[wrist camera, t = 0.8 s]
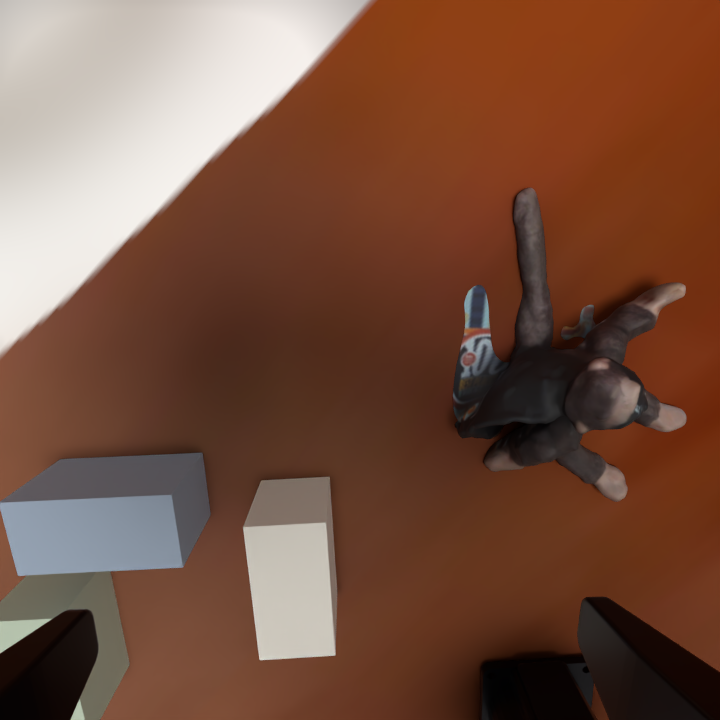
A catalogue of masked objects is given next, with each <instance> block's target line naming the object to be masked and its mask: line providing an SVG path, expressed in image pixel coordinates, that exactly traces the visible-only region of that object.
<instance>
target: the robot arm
mask: <svg viewBox="0 0 720 720" xmlns="http://www.w3.org/2000/svg"><path fill="white" fill-rule="evenodd" d="M577 637H578V643H579V647H580V649H581V652H582V654H583V656H580V657H565V658H549V659H534V660H519V661H504V662H489V663H486V664H484V665H483V666H482V667H481V681H480V718H479V720H597V718H596V717H595V715H594V713H593V711H592V709H591V705H592V696H593V686H594V683H595V686H596V688H597V691H598V693H599V696H600V698H601V701H602V703H603V705H604V708H605V710H606V713H607V715H608V717H609V720H720V672H719V671H717V670H716V669H714V668H713V667H711V666H710V665H708V664H707V663H705V662H704V661H702V660H701V659H699V658H698V657H696V656H695V655H693V654H692V653H690V652H689V651H687V650H686V649H684V648H683V647H681V646H680V645H678V644H677V643H675V642H674V641H672V640H671V639H669V638H668V637H666V636H665V635H663V634H662V633H660V632H659V631H657V630H656V629H654V628H653V627H651V626H650V625H648V624H647V623H645V622H644V621H642V620H641V619H639V618H638V617H636V616H635V615H633V614H632V613H630V612H629V611H627V610H626V609H624V608H623V607H621V606H620V605H618V604H617V603H615V602H614V601H612V600H611V599H609V598H607V597H586V598H584V599H583V600H582V603H581V609H580V616H579V624H578V631H577ZM98 651H99V643H98V638H97V632H96V626H95V621H94V616H93V613H92V611H91V610H88V609H70V610H66V611H64V612H62V613H60V614H59V615H57V616H56V617H54V618H53V619H51V620H50V621H48V622H47V623H45V624H44V625H42V626H41V627H39V628H38V629H36V630H35V631H33V632H32V633H30V634H29V635H27V636H26V637H24V638H23V639H21V640H20V641H18V642H16V643H15V644H13V645H12V646H10V647H9V648H7V649H6V650H4V651H3V652H1V653H0V720H71V718H72V715H73V713H74V711H75V708H76V706H77V704H78V702H79V699H80V697H81V695H82V692H83V690H84V688H85V685H86V683H87V681H88V679H89V676H90V674H91V672H92V669H93V667H94V665H95V662H96V660H97V656H98Z"/></svg>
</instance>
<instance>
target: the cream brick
mask: <svg viewBox="0 0 720 720" xmlns="http://www.w3.org/2000/svg"><path fill="white" fill-rule="evenodd" d="M243 530H244V538H245V547H246V555H247V563H248V571H249V579H250V587H251V595H252V603H253V611H254V619H255V627H256V635H257V643H258V652H259V660H271V659H287V658H303V657H319V656H335V652H336V618H337V580H336V565H335V550H334V535H333V520H332V505H331V490H330V477H315V478H297V479H278V480H261V482H260V484H259V487H258V490H257V492H256V495H255V497H254V500H253V503H252V505H251V508H250V510H249V513H248V516H247V518H246V521H245V524H244V526H243Z"/></svg>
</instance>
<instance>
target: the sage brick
mask: <svg viewBox="0 0 720 720" xmlns="http://www.w3.org/2000/svg"><path fill="white" fill-rule="evenodd" d="M70 609H88V610H91V611H92V613H93V616H94V621H95V626H96V632H97V638H98V643H99V651H98V656H97V660H96V662H95V665H94V667H93V669H92V672H91V674H90V676H89V679H88V681H87V683H86V685H85V688H84V690H83V692H82V695H81V697H80V699H79V702H78V704H77V706H76V708H75V711H74V713H73V715H72V718H71V720H100V719H101V717H102V715H103V713H104V711H105V710H106V708H107V706H108V704H109V702H110V700H111V698H112V697H113V695H114V693H115V691H116V689H117V687H118V685H119V683H120V682H121V680H122V678H123V676H124V674H125V672H126V670H127V669H128V667H129V665H130V663H129V659H128V654H127V649H126V644H125V639H124V635H123V630H122V625H121V620H120V615H119V610H118V606H117V601H116V596H115V591H114V586H113V582H112V577H111V572H110V571H103V572H83V573H63V574H43V575H27V576H26V577H25V578H24V579H23V580H22V581H21V582H20V583H19V584H18V585H17V586H16V587H15V588H14V589H13V590H12V591H11V592H10V593H9V594H8V595H7V596H6V597H5V598H4V599H3V600H2V601H1V602H0V653H1V652H3V651H4V650H6V649H7V648H9V647H10V646H12V645H13V644H15V643H16V642H18V641H20V640H21V639H23V638H24V637H26V636H27V635H29V634H30V633H32V632H33V631H35V630H36V629H38V628H39V627H41V626H42V625H44V624H45V623H47V622H48V621H50V620H51V619H53V618H54V617H56V616H57V615H59V614H60V613H62V612H64V611H66V610H70Z"/></svg>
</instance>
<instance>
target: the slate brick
mask: <svg viewBox="0 0 720 720" xmlns="http://www.w3.org/2000/svg"><path fill="white" fill-rule="evenodd" d="M0 510H1V513H2V517H3V521H4V525H5V529H6V532H7V536H8V540H9V544H10V547H11V551H12V555H13V559H14V563H15V566H16V570H17V574H18V576H23V575H43V574H63V573H83V572H103V571H123V570H143V569H163V568H183V566H184V565H185V563H186V561H187V559H188V557H189V555H190V553H191V551H192V549H193V547H194V546H195V544H196V542H197V540H198V538H199V536H200V534H201V532H202V530H203V528H204V527H205V525H206V523H207V521H208V519H209V517H210V515H211V513H210V505H209V498H208V490H207V483H206V475H205V468H204V460H203V453H186V454H163V455H141V456H119V457H97V458H74V459H60V460H58V461H57V462H56V463H54V464H53V465H51V466H50V467H49V468H47V469H46V470H44V471H43V472H42V473H40V474H39V475H37V476H36V477H34V478H33V479H32V480H30V481H29V482H27V483H26V484H25V485H23V486H22V487H20V488H19V489H17V490H16V491H15V492H13V493H12V494H10V495H9V496H8V497H6V498H5V499H3V500H2V501H1V502H0Z"/></svg>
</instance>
